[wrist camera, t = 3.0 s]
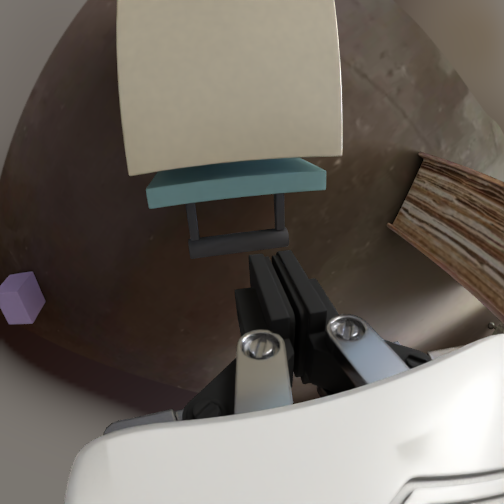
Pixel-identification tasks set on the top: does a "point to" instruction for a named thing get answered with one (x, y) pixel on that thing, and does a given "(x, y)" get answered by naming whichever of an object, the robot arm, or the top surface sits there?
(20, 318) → the lavender cube
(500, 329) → the tabletop clock
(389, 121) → the top surface
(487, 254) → the book
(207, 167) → the teal drawer
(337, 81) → the drawer cabinet
